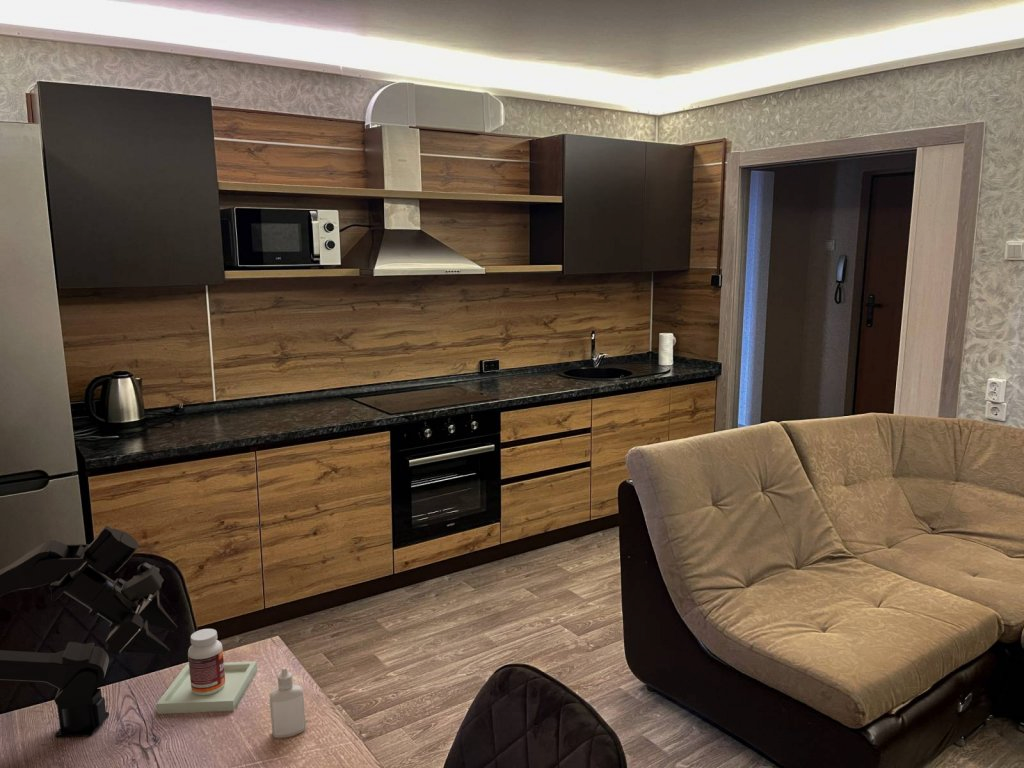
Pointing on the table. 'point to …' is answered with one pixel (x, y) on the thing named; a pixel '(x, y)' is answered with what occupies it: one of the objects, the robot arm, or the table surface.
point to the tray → (225, 699)
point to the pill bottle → (206, 662)
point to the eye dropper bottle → (287, 707)
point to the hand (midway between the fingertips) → (172, 640)
